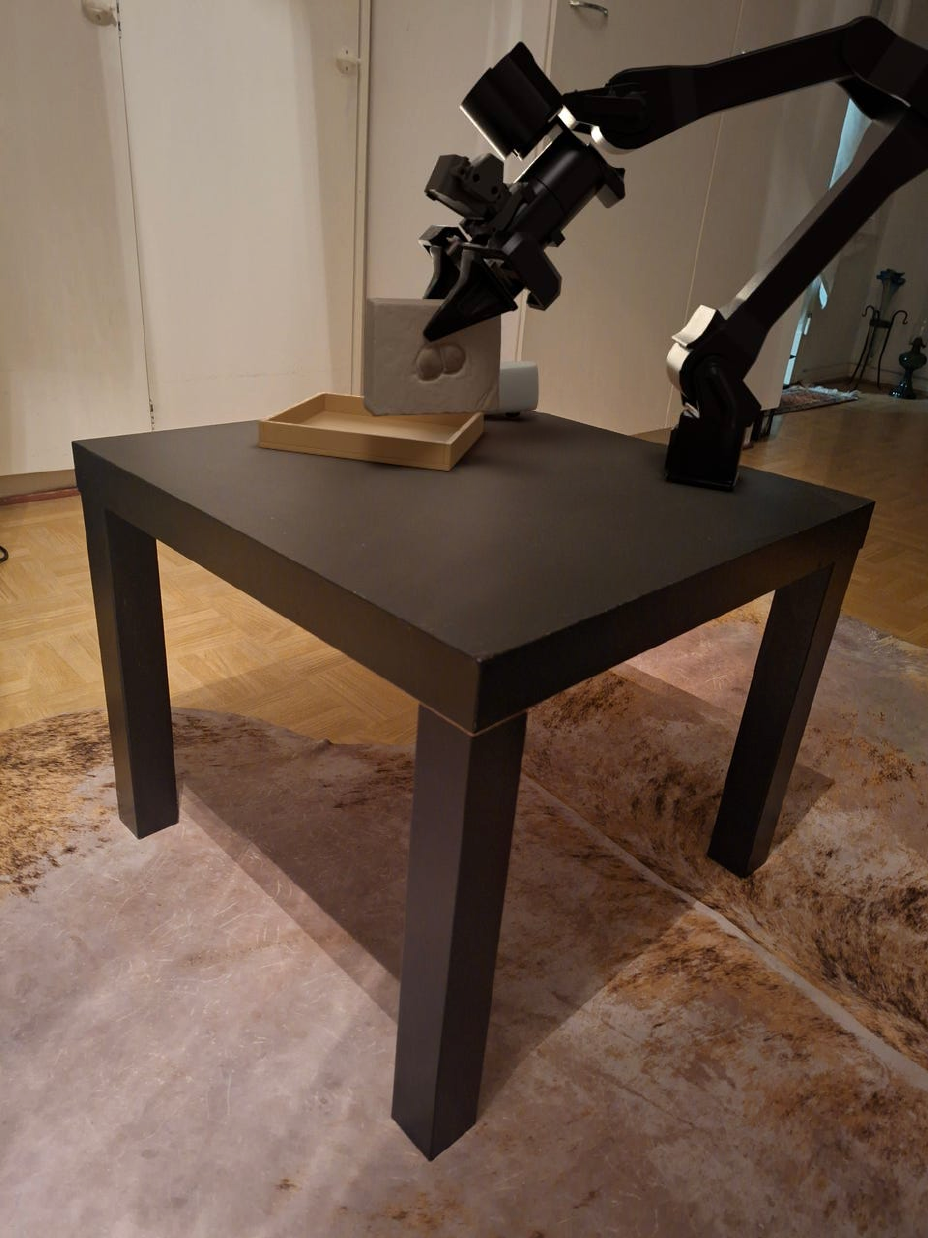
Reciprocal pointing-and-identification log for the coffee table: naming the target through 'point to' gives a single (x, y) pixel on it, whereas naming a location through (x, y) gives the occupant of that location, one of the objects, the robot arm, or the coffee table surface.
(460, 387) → the fossil
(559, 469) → the coffee table surface
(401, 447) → the wooden tray
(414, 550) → the coffee table surface
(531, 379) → the toy
